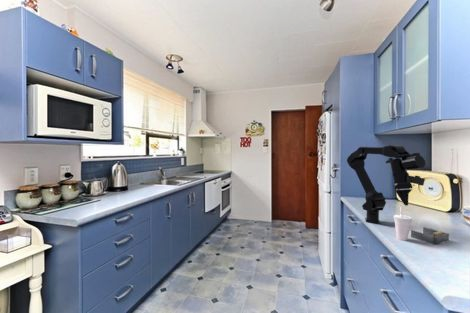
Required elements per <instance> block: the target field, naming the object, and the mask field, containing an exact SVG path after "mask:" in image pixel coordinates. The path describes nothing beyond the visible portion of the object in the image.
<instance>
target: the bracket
mask: <svg viewBox="0 0 470 313" xmlns="http://www.w3.org/2000/svg"><path fill="white" fill-rule="evenodd" d="M422 229H423V230H422V232H420V231H418V230H417V231H416V230H413V229H411V230H410V238H413V239H417V240H420V241H422V242H426V243H429V244H432V245H435V246H437V245H439V244H443V243H447V242H449V239H450V238H449V237H450V234H449V233H447V232H444V231H442V230H437V229H436V230H435V229H432V228H429V227H427V226H426V227H425V226H423V227H422Z"/></svg>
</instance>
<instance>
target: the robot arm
mask: <svg viewBox="0 0 470 313" xmlns="http://www.w3.org/2000/svg"><path fill="white" fill-rule="evenodd" d="M368 155H382V156H384V157H388V159H387V160H386V161H385V164H390V170H391V174H392V181H393V188H394V191H395V193H396V195H397V196H398V197H399V199H400V200H401V202H402V203H403V205H404V206H405V207H406V206H409V196H410V193H411V191H413V185H412V184H416V185H418V186H424V185H425V181H426V178H423V177H421V176H420V175H410V174H409V172H408V170H409V171H411V170H417V169H423V168H425V167H426V159H424V157H423V156H422V155H421V153H420V152H414V153H410V152H408V150H406V148H405V147H404V146H403V145H401V144H400V145H398V144H397V145H385V146H382V147H378V146H377V147H375V146H370V147H369V146H359V147H358V148H357V149H356V150H355V151H353V152H352V153H351V154H350V155H348V157H347V159H346V162H347V164H348V166H349V168H351V169H352V170H354V171H355V173H356V175H357V178H358V180H359V182H360V184H361V187H363V191H364V193H365V202H364V203H363V204H362V206H361V207H362V210H363V211H366V213H365V214H366V217H365V222H366V223H373V224H378V225H379V224H381V220H380V211H384V208H385V206H386V204H387V200H386V197H385V196H384V193H383V192H382V191H381V192H378V191H377V190H376V188H375V186H374V185H373V182H372V180H371V178H370V176H369V174H368V172H367V171H366V169H365V164H366V163H365V160H366V159H367V157H368Z"/></svg>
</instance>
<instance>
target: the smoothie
mask: <svg viewBox="0 0 470 313" xmlns="http://www.w3.org/2000/svg"><path fill="white" fill-rule="evenodd" d="M399 207H400V208H399V211H400V213H399V214H393V217H392V218H393V219H394V228H395V235H396V236H395V237H396V239H397V240H400V241H408V238H409V234H410V226H411V222H412V221H413V220H412V219H413V218H412V217H411V216H408V215H405V214H403V213H402V212H403V206H399Z"/></svg>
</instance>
